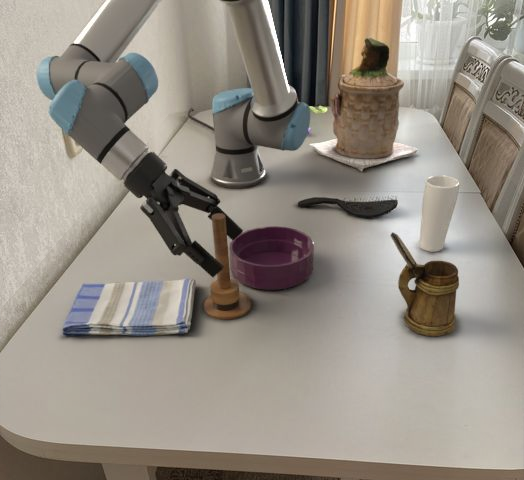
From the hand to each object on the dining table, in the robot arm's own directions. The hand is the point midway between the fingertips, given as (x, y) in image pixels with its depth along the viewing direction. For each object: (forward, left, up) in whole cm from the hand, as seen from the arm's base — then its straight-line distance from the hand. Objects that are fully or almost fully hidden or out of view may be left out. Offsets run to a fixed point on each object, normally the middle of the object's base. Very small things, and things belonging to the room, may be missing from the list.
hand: (228, 253), depth 98 cm
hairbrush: (-24, +44, -12) cm, 51 cm away
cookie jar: (-55, +73, -12) cm, 92 cm away
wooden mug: (+22, +26, -12) cm, 36 cm away
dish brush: (-1, -1, -11) cm, 11 cm away
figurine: (-90, +69, -12) cm, 114 cm away
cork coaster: (-1, -1, -11) cm, 11 cm away
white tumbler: (+2, +48, -12) cm, 50 cm away
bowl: (-8, +13, -11) cm, 19 cm away
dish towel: (-9, -17, -12) cm, 22 cm away
